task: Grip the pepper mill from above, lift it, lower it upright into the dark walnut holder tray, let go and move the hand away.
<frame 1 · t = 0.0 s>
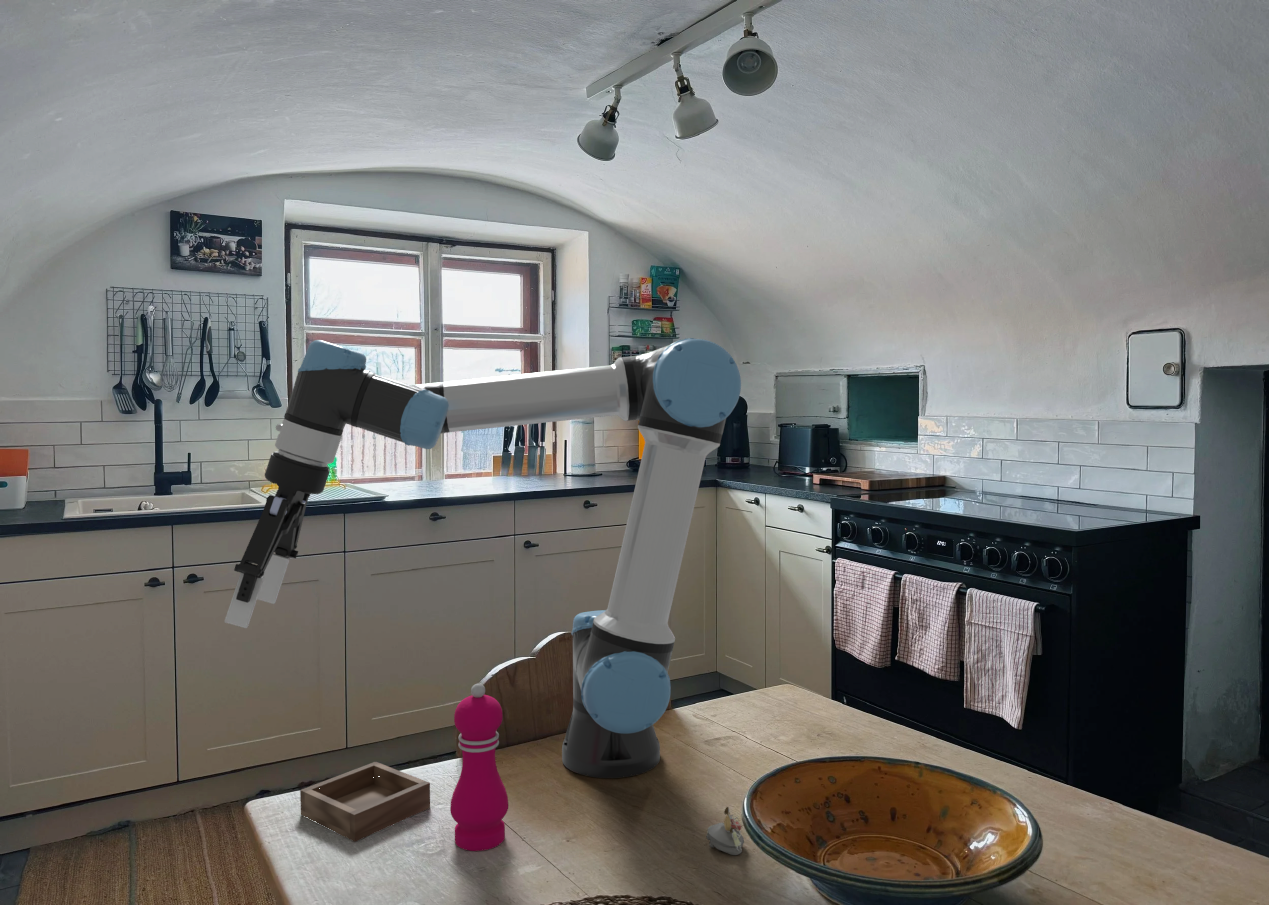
hand: (251, 612, 118), 28 cm above the table, tool tilted 20°, fingers open, 13 cm apart
figurine: (726, 850, 112), on the table
holder tray: (366, 811, 122), on the table
pepper mill: (479, 840, 114), on the table
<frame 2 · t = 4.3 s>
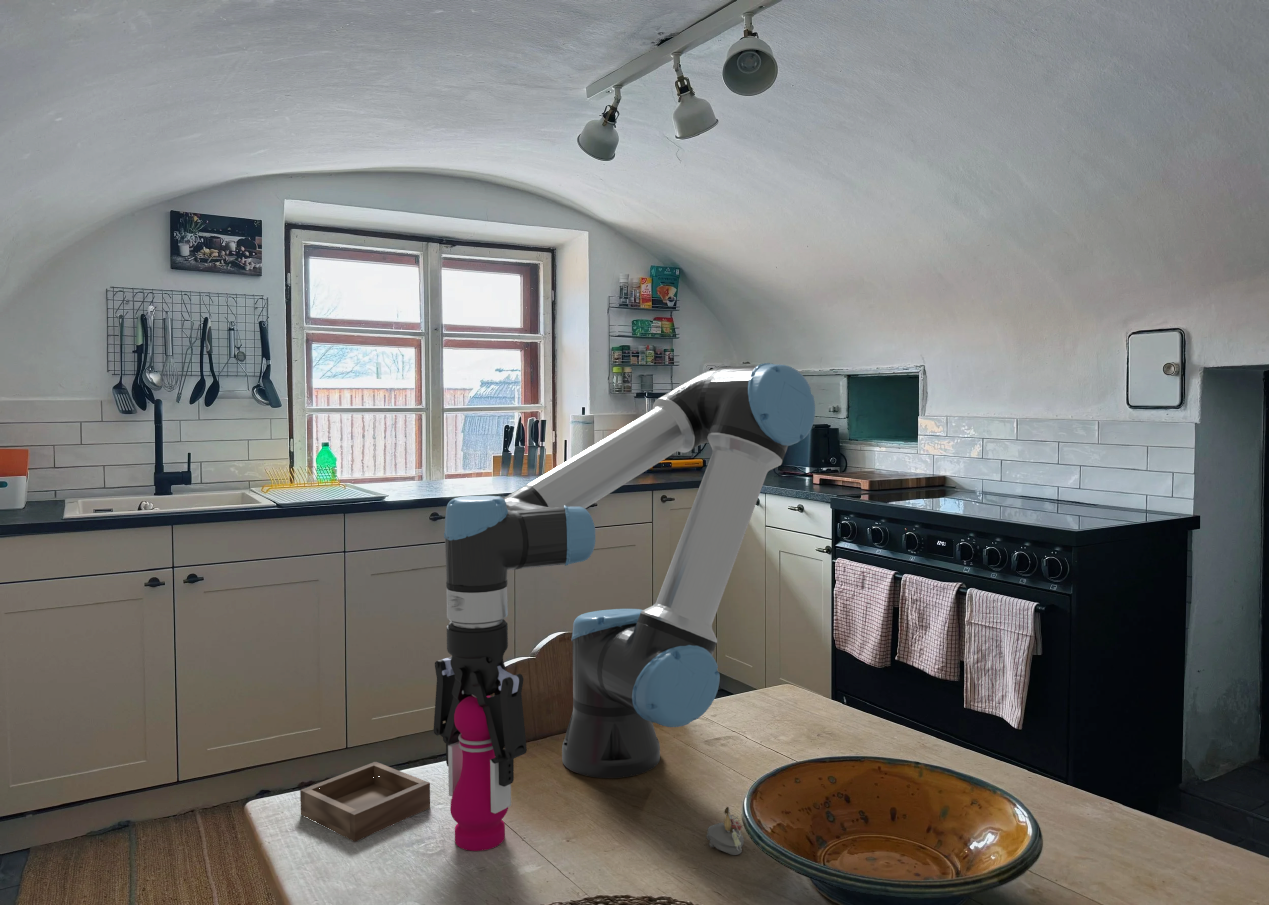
hand: (479, 800, 114), 5 cm above the table, tool pointing down, fingers closed on pepper mill, 7 cm apart
pepper mill: (480, 840, 114), on the table, touching gripper
everything else where it was.
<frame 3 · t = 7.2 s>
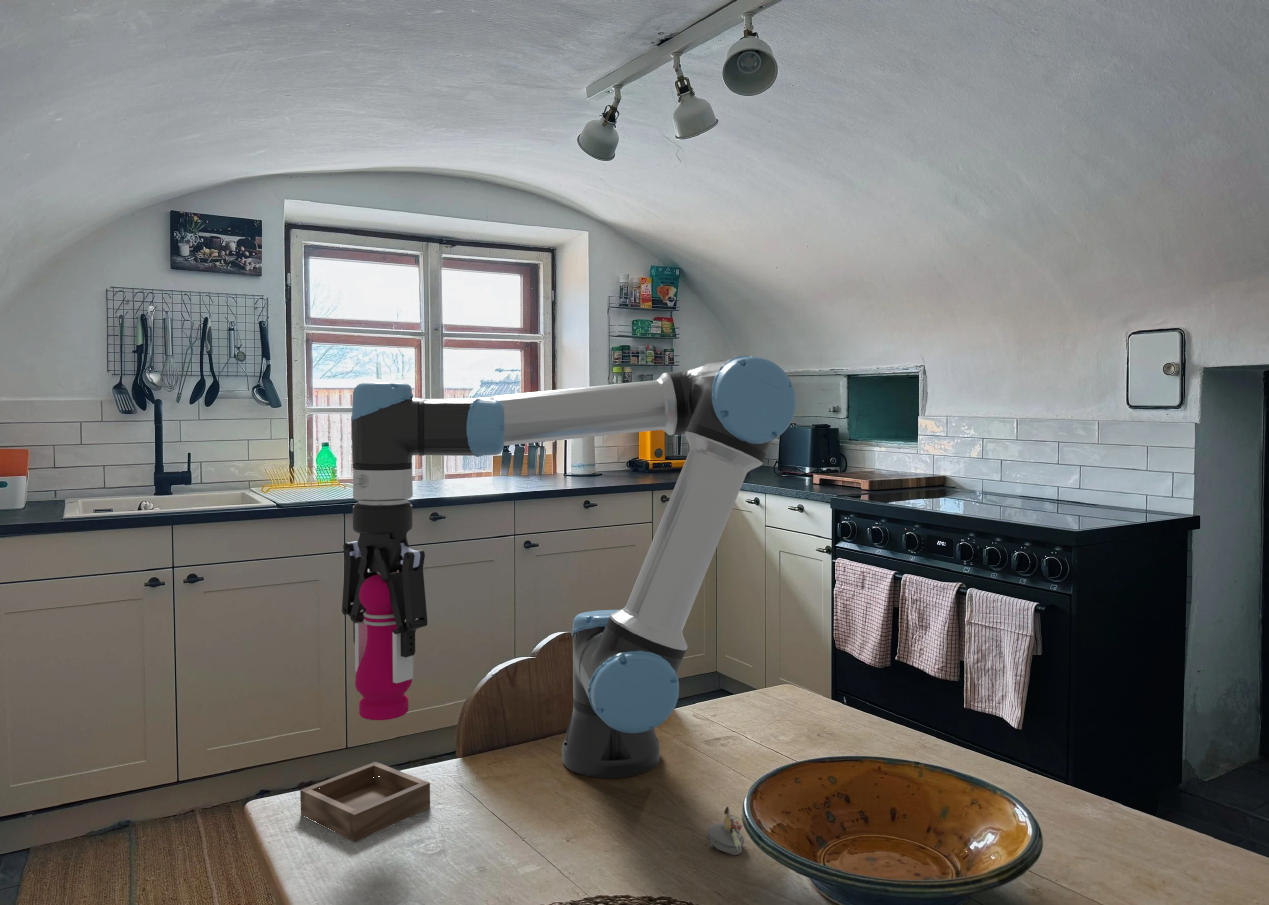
hand: (383, 674, 119), 19 cm above the table, tool pointing down, fingers closed on pepper mill, 7 cm apart
pepper mill: (384, 714, 119), point 14 cm above the table, touching gripper
everything else where it was.
when the fingers open (8 cm above the table, at t = 10.5 s): pepper mill drops 2 cm, resting on holder tray.
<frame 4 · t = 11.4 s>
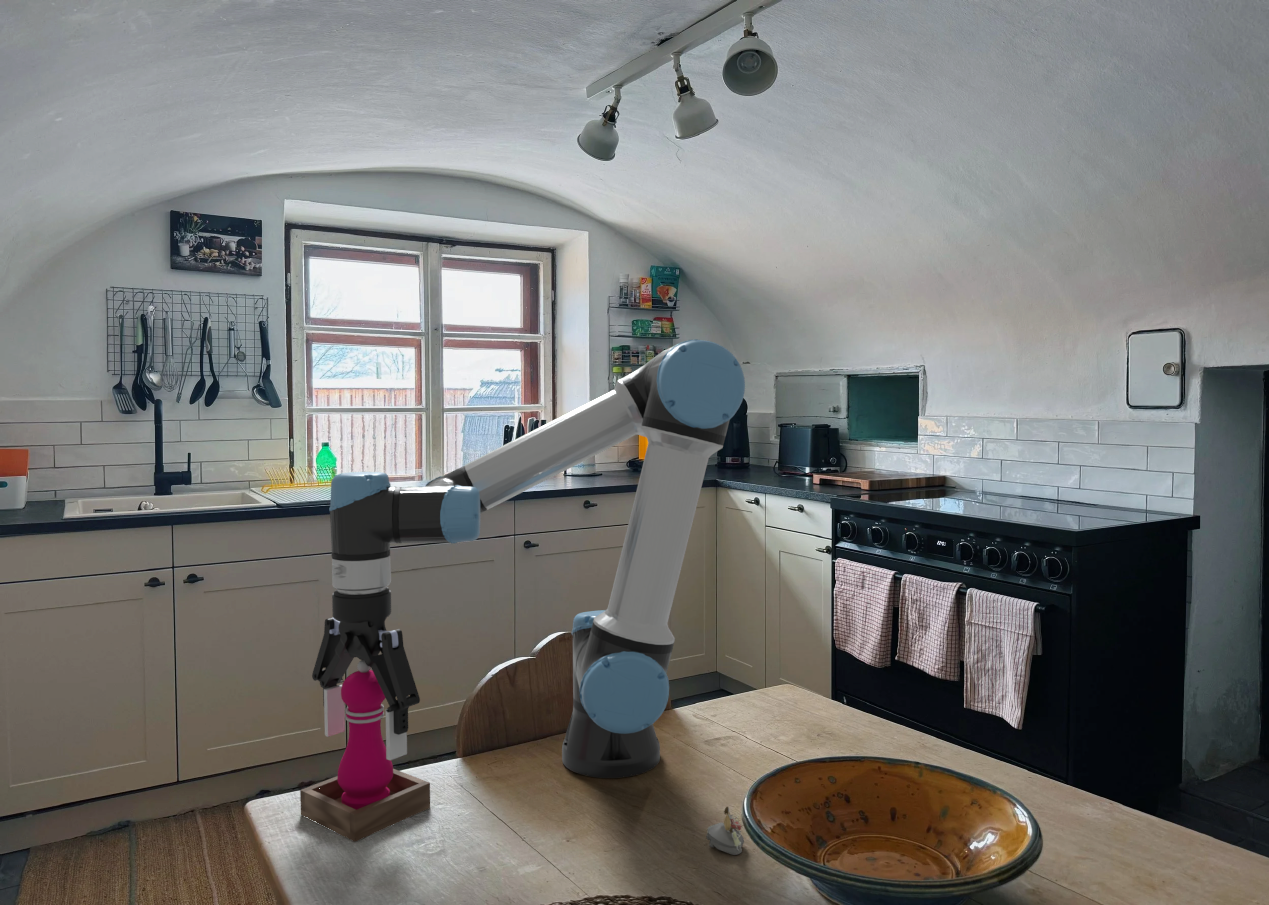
hand: (364, 744, 121), 9 cm above the table, tool pointing down, fingers open, 13 cm apart
pepper mill: (366, 807, 122), point 1 cm above the table, touching holder tray
everything else where it was.
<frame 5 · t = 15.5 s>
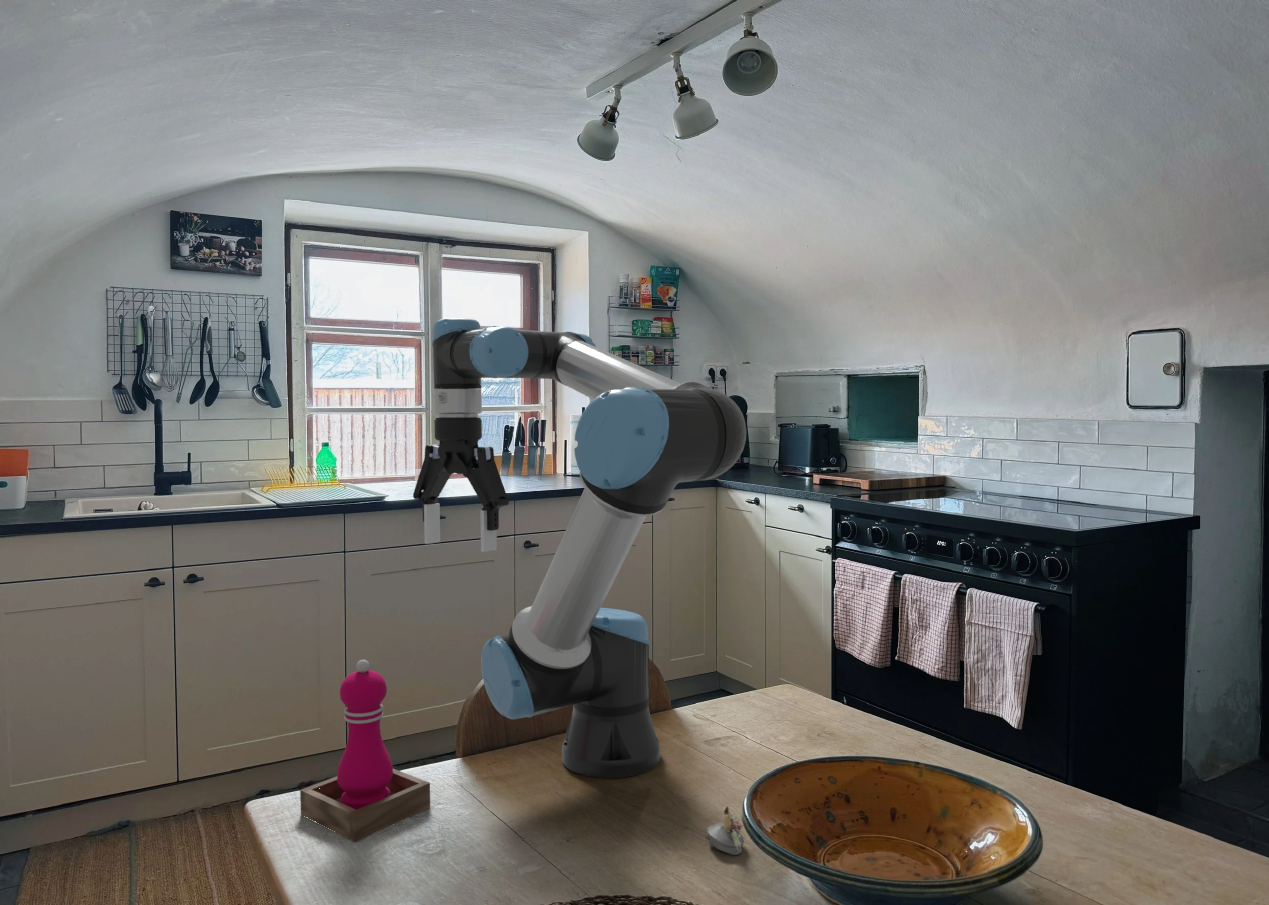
hand: (459, 546, 147), 32 cm above the table, tool pointing down, fingers open, 13 cm apart
nothing on the table moved.
at the end: pepper mill 0.0 cm off-centre on the holder tray, point 0.6 cm above the holder tray's base; pepper mill tilted 0°; the gripper is holding nothing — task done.
